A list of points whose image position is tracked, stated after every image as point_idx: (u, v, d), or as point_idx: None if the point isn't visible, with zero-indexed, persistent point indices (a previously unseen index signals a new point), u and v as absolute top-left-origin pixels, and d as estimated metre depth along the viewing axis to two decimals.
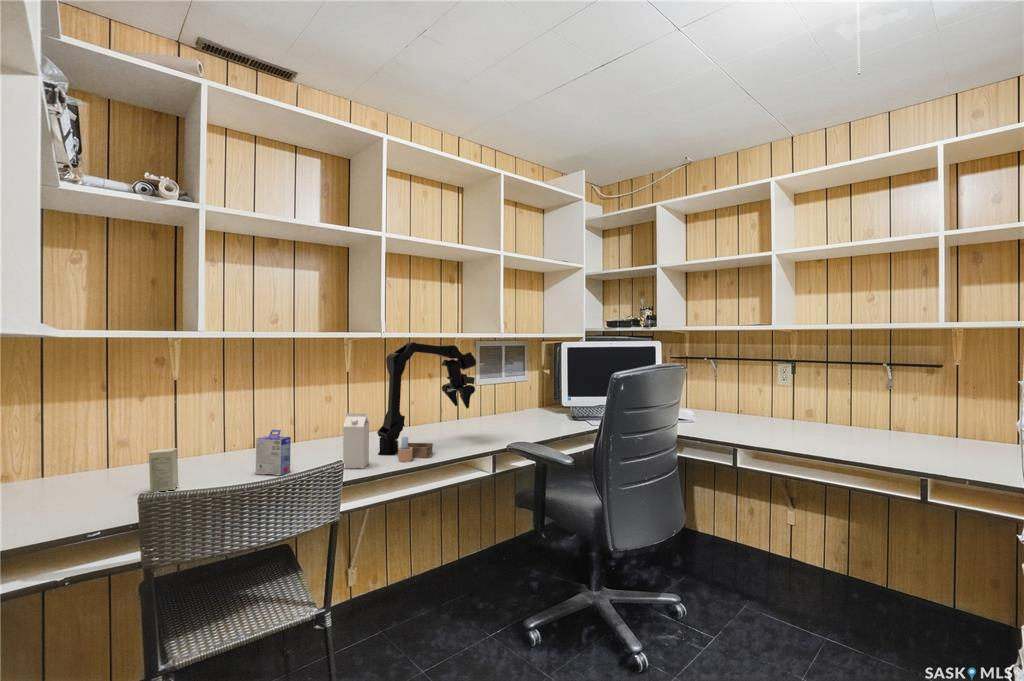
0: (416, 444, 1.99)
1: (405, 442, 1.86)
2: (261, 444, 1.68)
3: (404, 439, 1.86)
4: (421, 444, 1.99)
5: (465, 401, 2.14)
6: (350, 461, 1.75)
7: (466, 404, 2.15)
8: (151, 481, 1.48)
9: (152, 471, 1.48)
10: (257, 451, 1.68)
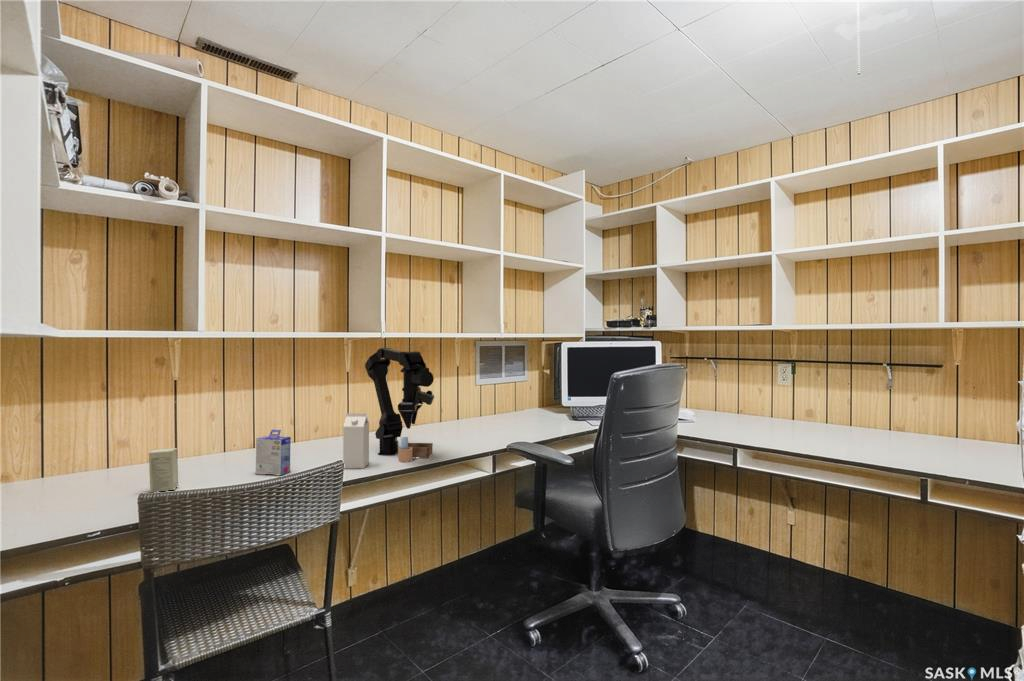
0: (416, 444, 1.99)
1: (404, 442, 1.86)
2: (261, 444, 1.68)
3: (404, 439, 1.86)
4: (421, 444, 1.99)
5: (404, 419, 1.82)
6: (350, 461, 1.75)
7: (406, 423, 1.82)
8: (151, 481, 1.48)
9: (152, 471, 1.48)
10: (257, 451, 1.68)
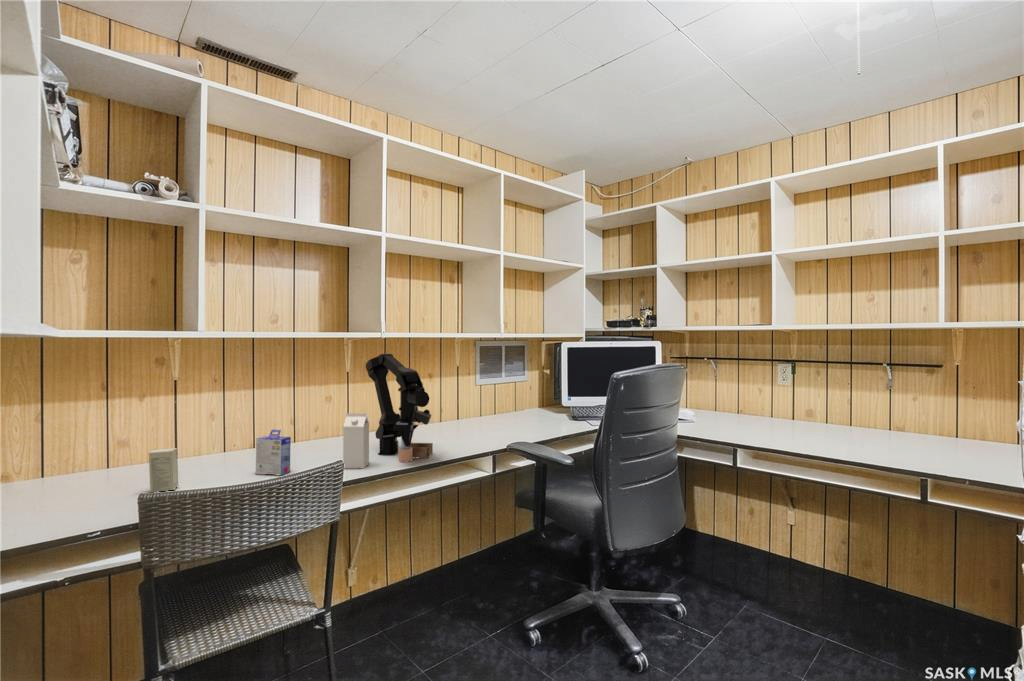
0: (416, 444, 1.99)
1: None
2: (261, 444, 1.68)
3: None
4: (421, 444, 1.99)
5: (403, 437, 1.85)
6: (350, 461, 1.75)
7: (404, 441, 1.85)
8: (151, 481, 1.48)
9: (152, 471, 1.48)
10: (257, 451, 1.68)
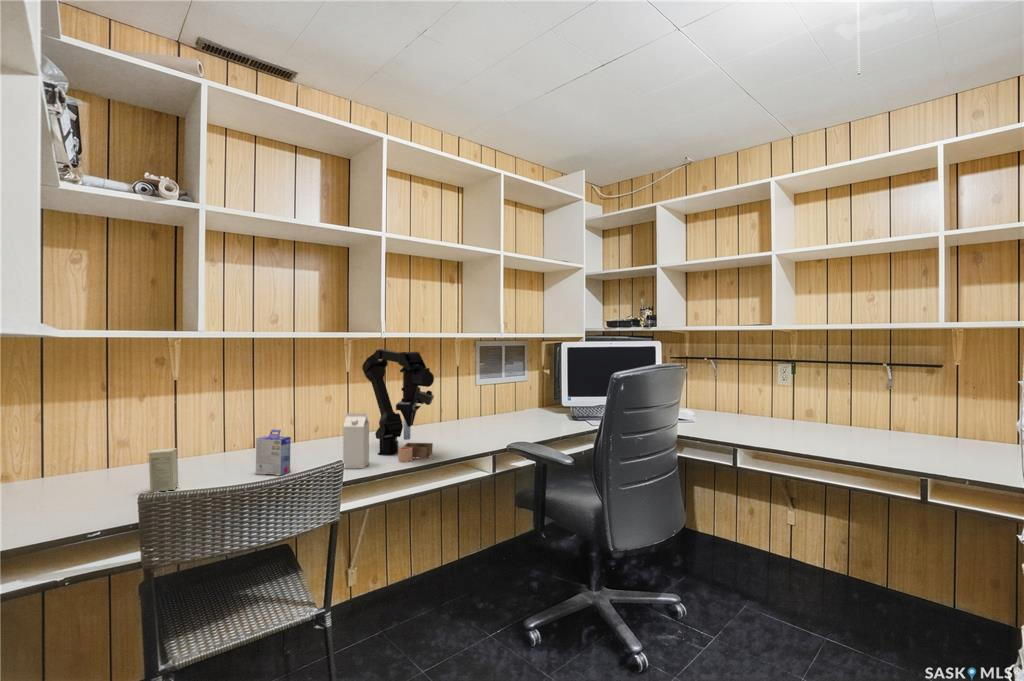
0: (416, 444, 1.99)
1: None
2: (261, 444, 1.68)
3: None
4: (421, 444, 1.99)
5: (405, 417, 1.87)
6: (350, 461, 1.75)
7: (407, 421, 1.87)
8: (151, 481, 1.48)
9: (152, 471, 1.48)
10: (256, 451, 1.68)
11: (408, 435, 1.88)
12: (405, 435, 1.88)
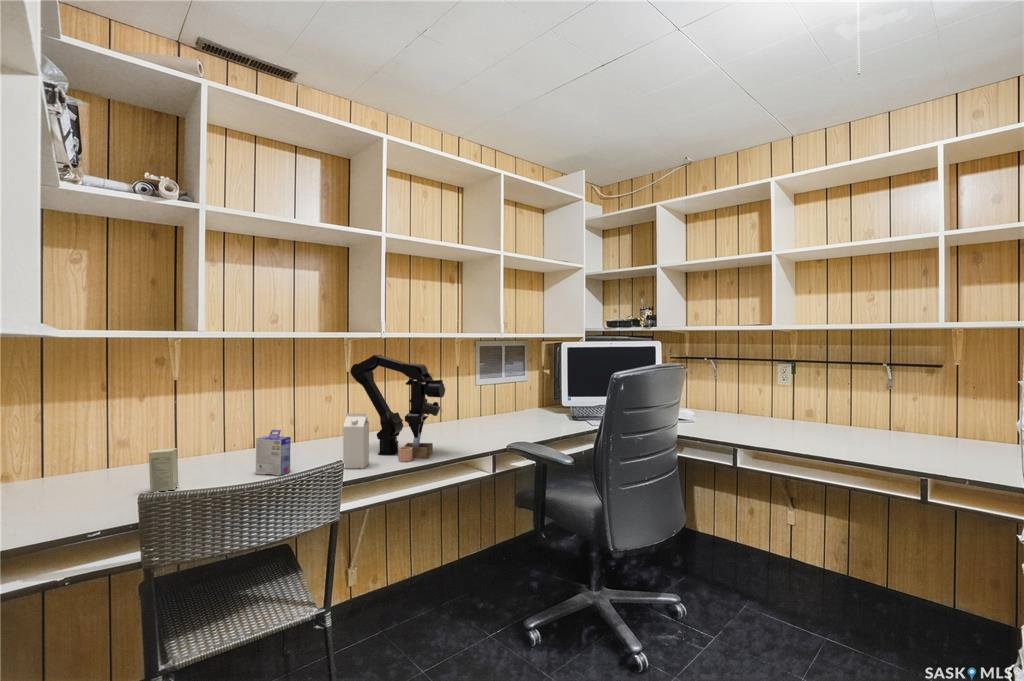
0: None
1: (417, 438, 1.94)
2: (261, 444, 1.68)
3: None
4: (421, 444, 1.99)
5: (412, 429, 1.91)
6: (350, 461, 1.75)
7: (414, 432, 1.92)
8: (151, 481, 1.48)
9: (152, 471, 1.48)
10: (256, 451, 1.68)
11: None
12: None
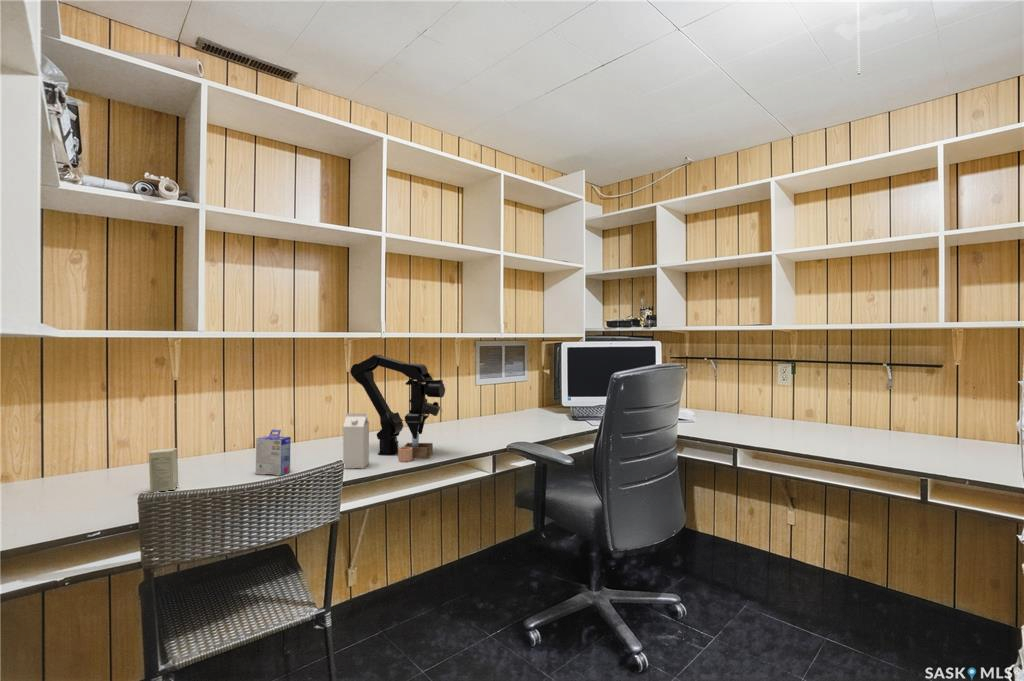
0: None
1: None
2: (261, 444, 1.68)
3: None
4: (421, 444, 1.99)
5: (411, 429, 1.89)
6: (350, 461, 1.75)
7: (413, 433, 1.90)
8: (151, 481, 1.48)
9: (152, 471, 1.48)
10: (256, 451, 1.68)
11: None
12: None
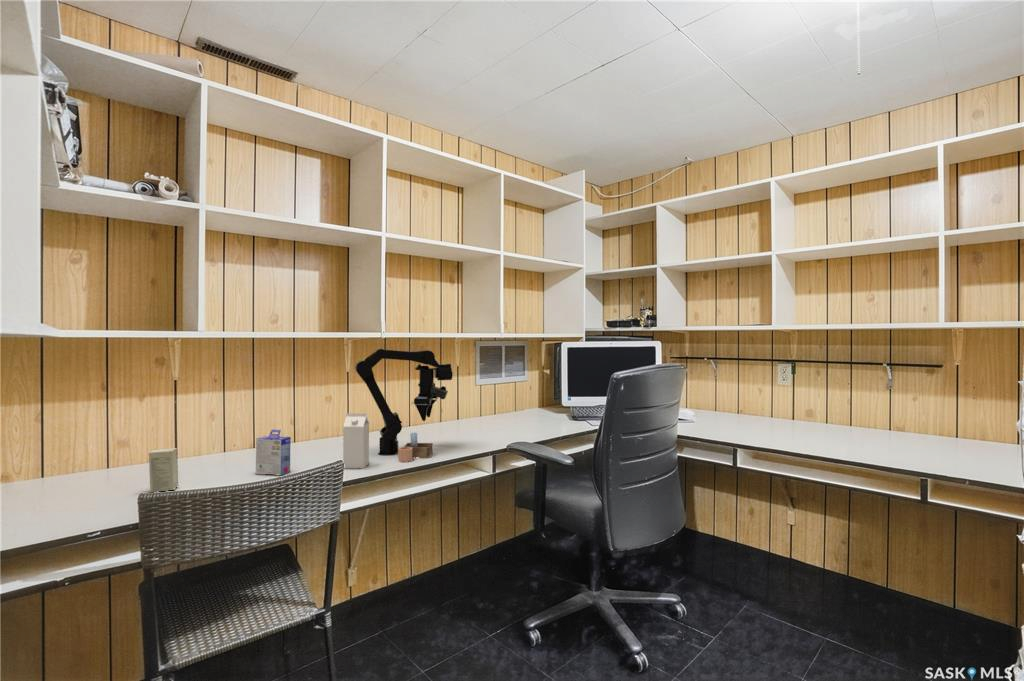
0: None
1: (414, 438, 1.94)
2: (261, 444, 1.68)
3: (413, 435, 1.94)
4: (421, 444, 1.99)
5: (420, 412, 1.98)
6: (350, 461, 1.75)
7: (421, 416, 1.99)
8: (151, 481, 1.48)
9: (152, 471, 1.48)
10: (256, 451, 1.68)
11: None
12: None
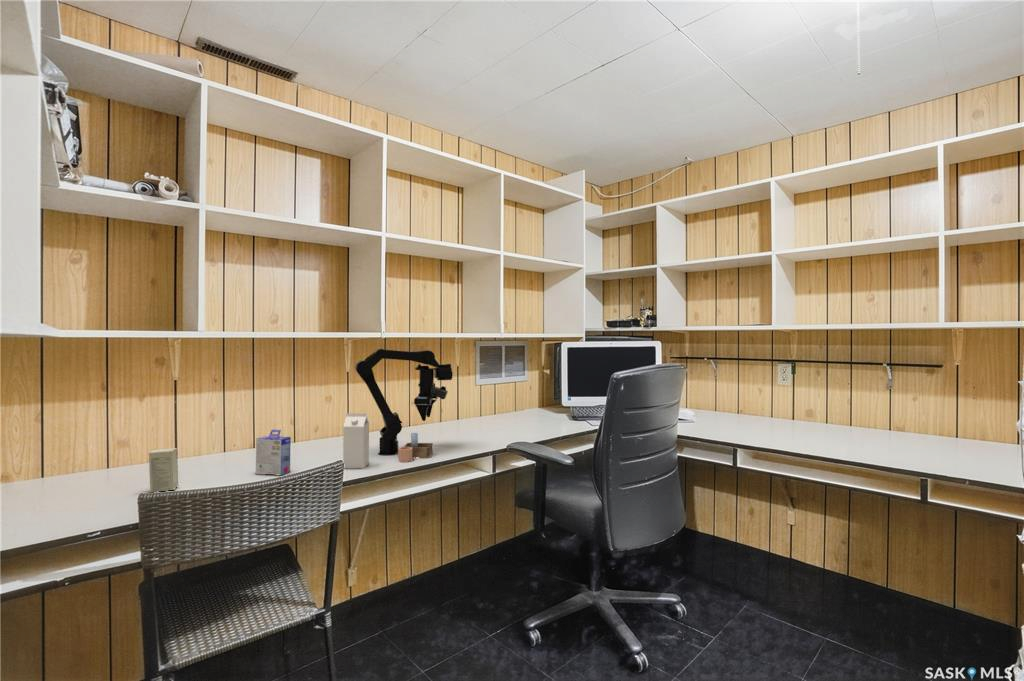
0: None
1: (414, 438, 1.94)
2: (261, 444, 1.68)
3: (414, 435, 1.94)
4: (421, 444, 1.99)
5: (420, 412, 1.98)
6: (350, 461, 1.75)
7: (421, 416, 1.99)
8: (151, 481, 1.48)
9: (152, 471, 1.48)
10: (256, 451, 1.68)
11: None
12: None
